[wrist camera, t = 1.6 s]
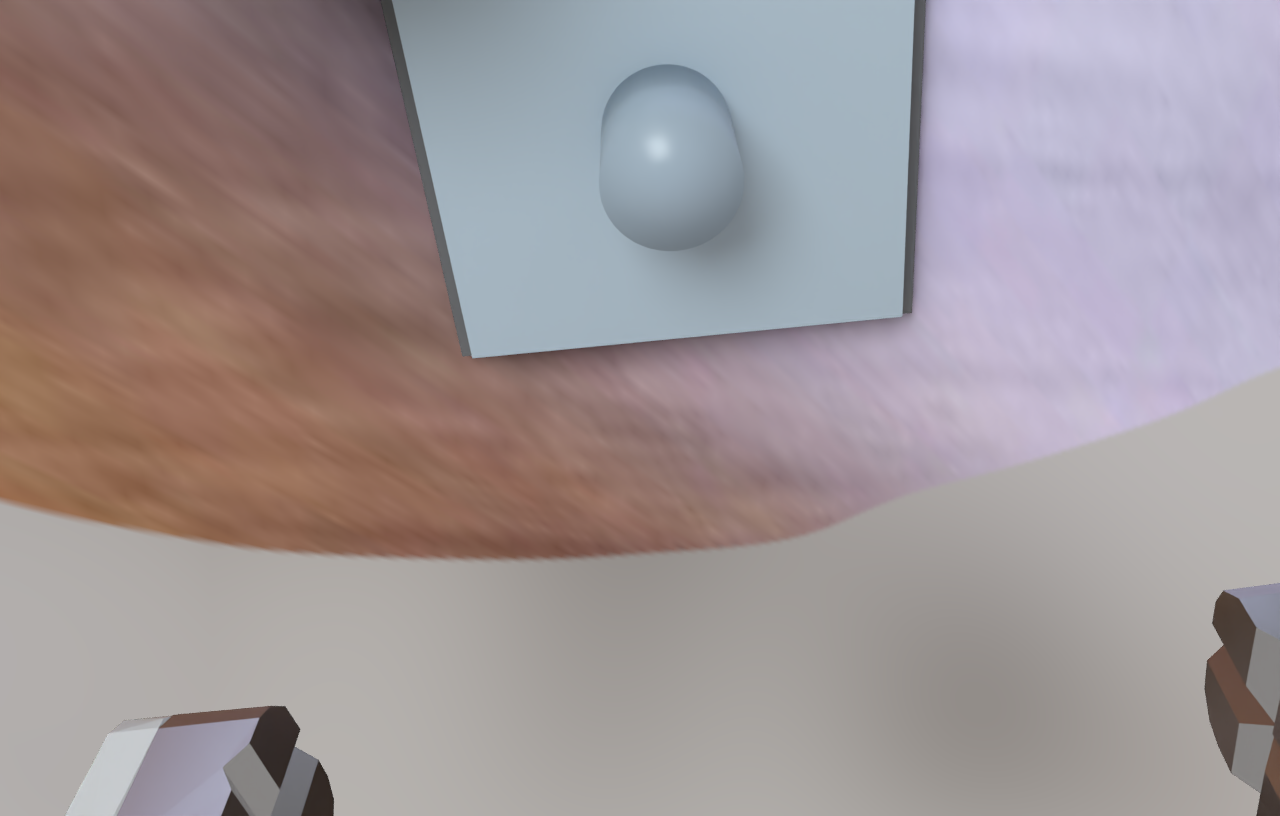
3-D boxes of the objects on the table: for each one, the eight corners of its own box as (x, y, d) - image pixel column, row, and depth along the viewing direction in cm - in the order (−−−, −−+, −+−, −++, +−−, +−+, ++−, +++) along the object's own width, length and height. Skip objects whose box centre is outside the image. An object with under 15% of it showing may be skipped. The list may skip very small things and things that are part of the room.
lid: (476, 340, 31) (456, 430, 27) (376, -116, 24) (332, -76, 21) (894, 299, 31) (932, 385, 27) (910, -178, 24) (964, -150, 20)
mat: (465, 345, 32) (462, 356, 31) (354, -141, 25) (349, -137, 24) (907, 302, 31) (911, 312, 31) (928, -209, 24) (935, -207, 24)
